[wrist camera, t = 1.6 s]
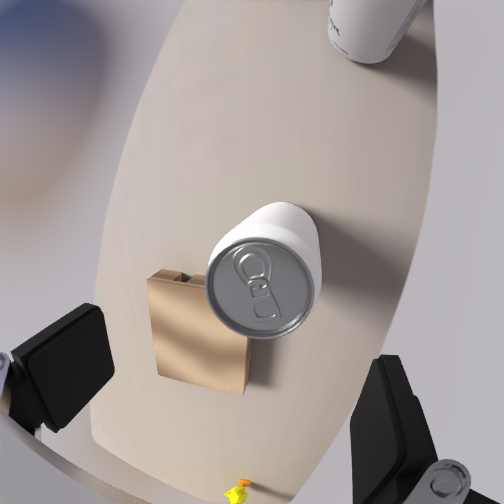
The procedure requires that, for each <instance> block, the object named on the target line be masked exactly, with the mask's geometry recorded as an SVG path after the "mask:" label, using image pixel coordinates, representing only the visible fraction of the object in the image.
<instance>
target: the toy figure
mask: <svg viewBox="0 0 504 504" xmlns="http://www.w3.org/2000/svg"><path fill="white" fill-rule="evenodd" d="M239 484H240V486H235V487H234V488H232V489H231V490H229V491H228V492H226V493H225V494H223V495H225V496H228V497H229V499H230V501H231V504H241V503H243V502H244V501H245V500H246V497H247V492H246V490H245V488H244V487H247V486H249V485H251V482H250V481H248V480H243V479H241V480H240V481H239ZM243 486H244V487H243Z"/></svg>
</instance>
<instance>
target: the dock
mask: <svg viewBox="0 0 504 504" xmlns="http://www.w3.org/2000/svg"><path fill="white" fill-rule="evenodd" d="M205 277H206V276H201V275H194V276H193V277H192V278H191V279H189V280H188V281H187V282H186V283H185V282H182V273H181V272H175V271H168V270H162V269H161V270H160V271H158V272H157V273H156V274H154V275H153V276H151V277H150V278H149V279H147V286H148V298H149V308H150V317H151V326H152V334H153V342H154V349H155V356H156V362H157V369H158V375H161V376H164V377H168V378H171V379H175V380H178V381H182V382H186V383H190V384H194V385H198V386H202V387H206V388H210V389H215V390H219V391H224V392H229V393H234V394H239V395H244V392H245V389H246V386H247V383H248V380H249V371H250V358H251V345H252V338H248V337H245V336H242V335H240V334H238V333H236V332H234V331H232V330H230V329H229V328H228V327H226V326H225V325H224V324H223V323H222V322H221V321H220V320H219V319H218V318H217V317H216V316H215V314H214V313H213V311H212V309H211V308H210V306H209V303H208V301H207V297H206V293H205Z"/></svg>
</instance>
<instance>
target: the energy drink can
mask: <svg viewBox="0 0 504 504" xmlns="http://www.w3.org/2000/svg"><path fill="white" fill-rule="evenodd" d="M426 2H427V0H330V9H329V21H328V36H329V39H330V41H331V43H332V45H333V46H334V47H335V48H336V50H337V51H339V52H340V53H341V54H342V55H344V56H345V57H347V58H349V59H351V60H353V61H356V62H360V63H366V64H372V63H378V62H381V61H383V60H385V59H386V58H388V57H389V56H390V54H391V53H392V51H393V50H394V49H395V47H396V46H397V44H398V43H399V41H400V40H401V38H402V37H403V35H404V34H405V33H406V31H407V30H408V28H409V27H410V25H411V24H412V22H413V21H414V19H415V18H416V17H417V15H418V14H419V12H420V11H421V9H422V8H423V6H424V5H425V3H426Z"/></svg>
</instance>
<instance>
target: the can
mask: <svg viewBox="0 0 504 504" xmlns="http://www.w3.org/2000/svg"><path fill="white" fill-rule="evenodd" d="M321 284H322V270H321V257H320V248H319V239H318V233H317V229H316V226H315V224H314V222H313V220H312V218H311V217H310V216H309V215H308V214H307V213H306V212H305V211H304V210H303V209H301V208H300V207H298V206H296V205H293V204H290V203H286V202H276V203H272V204H269V205H266V206H264V207H262V208H260V209H259V210H257V211H256V212H255V213H253V214H252V215H251V216H249V217H248V218H247V219H245V220H244V221H243V222H241V223H240V224H239V225H237V226H236V227H235V228H234V229H232V230H231V231H230V232H229V233H228V234H227V235H225V236H224V237H223V238H222V239H221V241H220V242H219V243H218V244H217V246H216V247H215V249H214V251H213V253H212V255H211V257H210V260H209V264H208V269H207V272H206V277H205V293H206V297H207V301H208V303H209V306H210V308H211V309H212V311H213V313H214V314H215V316H216V317H217V318H218V319H219V320H220V321H221V322H222V323H223V324H224V325H225V326H226V327H228V328H229V329H230V330H232V331H234V332H236V333H238V334H240V335H242V336H245V337H248V338H253V339H274V338H278V337H281V336H284V335H287V334H289V333H290V332H292V331H294V330H295V329H296V328H298V327H299V326H300V325H301V324H302V323H303V322H304V321H305V319H306V318H307V316H308V315H309V313H310V311H311V310H312V309H313V307H314V306H315V304H316V302H317V300H318V297H319V294H320V290H321Z"/></svg>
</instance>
